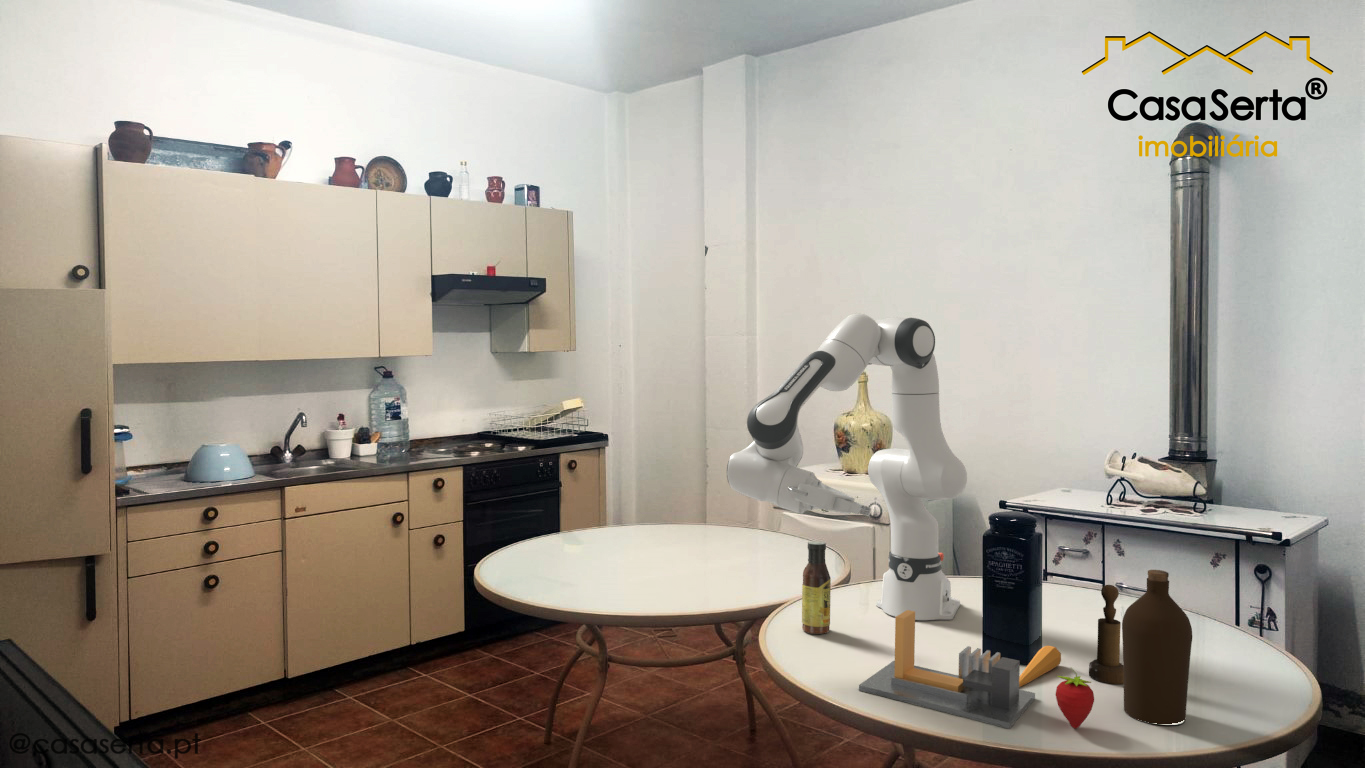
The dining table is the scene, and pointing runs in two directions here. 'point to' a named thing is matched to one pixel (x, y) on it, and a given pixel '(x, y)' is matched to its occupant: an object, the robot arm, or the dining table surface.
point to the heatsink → (982, 699)
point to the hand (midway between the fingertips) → (864, 511)
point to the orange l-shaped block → (906, 657)
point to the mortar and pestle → (1108, 643)
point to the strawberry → (1074, 699)
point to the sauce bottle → (816, 591)
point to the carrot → (1040, 664)
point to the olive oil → (1156, 654)
